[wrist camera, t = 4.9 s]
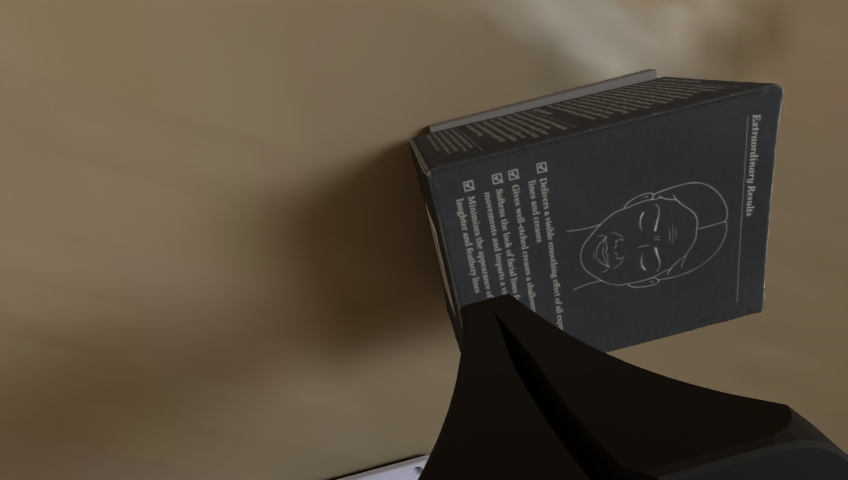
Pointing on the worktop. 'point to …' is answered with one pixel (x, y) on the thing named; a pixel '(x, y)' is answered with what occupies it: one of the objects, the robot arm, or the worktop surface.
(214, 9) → the worktop surface
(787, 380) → the worktop surface
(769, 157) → the box
